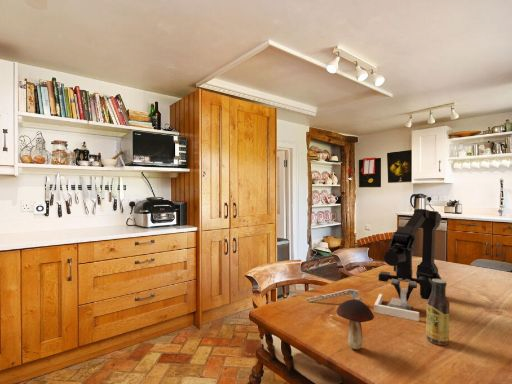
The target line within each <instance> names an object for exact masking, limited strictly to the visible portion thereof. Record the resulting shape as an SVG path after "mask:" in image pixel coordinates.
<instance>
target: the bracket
mask: <svg viewBox="0 0 512 384" xmlns="http://www.w3.org/2000/svg"><path fill="white" fill-rule="evenodd" d="M347 295H348V296H350V295H351V297H350V299H349V300H351V299H356V300H359V301H361V302H363V298H361V295H360V292H359V290H357V289H349V288H348V289H344V290H341V291H336V292H333V293H327V294H324V295H321V294H318V295H317V296H316V295H315V296H312V297H306V301H307V302H308V303H312V302H314V303H315V302H318V301H323V300H328V299H332V298H337V297H338V298H339V297H342V296H347ZM357 296H358V297H359V298H357ZM311 299H312V300H311Z"/></svg>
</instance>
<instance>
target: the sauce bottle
mask: <svg viewBox="0 0 512 384" xmlns="http://www.w3.org/2000/svg"><path fill="white" fill-rule="evenodd" d="M441 279H442V278H441ZM441 279H432V282H431V284H432V292H431V295H430V297H429V299H427V303H426V320H425V321H426V322H425V328H426V329H425V334H426V336H425V337H426V339H427V341H429V342H430V343H432V344H434V345H436V346H446V345H448V344H449V340H450V302H449V300H448V298H447V296H446V295H447V293H446V287H447V281H446V280H444V279H442V280H441Z"/></svg>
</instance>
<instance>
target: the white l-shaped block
mask: <svg viewBox="0 0 512 384" xmlns="http://www.w3.org/2000/svg"><path fill="white" fill-rule="evenodd" d="M382 303H383V294H382V293H379V294H378V296H377V298H376V299H375V302H374V305H373V306H374V307H373V312H374V313H376V314H381V315H385V316H391V317H396V318H400V319H405V320H410V321H414V322H420V312H419V311H414V310H411V311H410V310H405V309H399V308H394V307H389V306H387V305H383V304H382Z"/></svg>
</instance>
